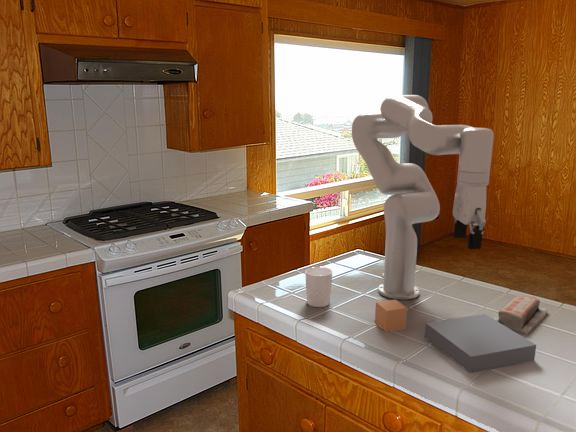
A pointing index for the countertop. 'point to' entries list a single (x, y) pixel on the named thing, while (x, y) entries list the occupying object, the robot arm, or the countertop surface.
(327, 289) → the white cup
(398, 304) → the cube
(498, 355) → the plinth
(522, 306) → the packaged product
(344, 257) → the countertop surface
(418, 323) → the countertop surface
